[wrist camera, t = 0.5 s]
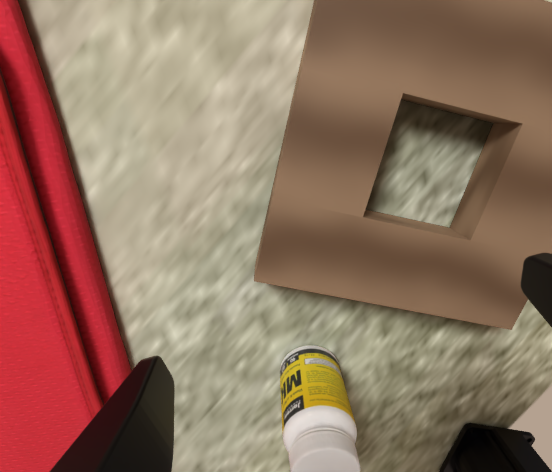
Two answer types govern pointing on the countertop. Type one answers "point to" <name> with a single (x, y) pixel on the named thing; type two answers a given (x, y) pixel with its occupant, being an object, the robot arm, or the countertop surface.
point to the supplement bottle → (316, 413)
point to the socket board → (372, 141)
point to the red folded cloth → (45, 275)
